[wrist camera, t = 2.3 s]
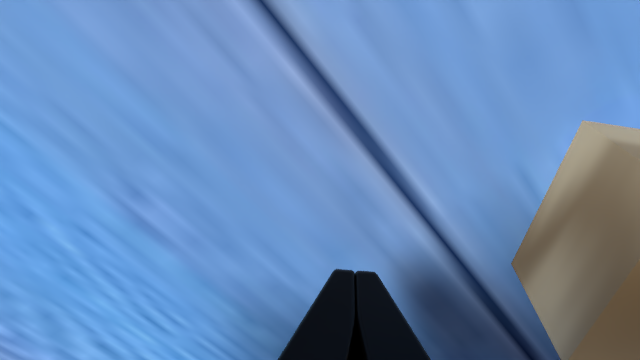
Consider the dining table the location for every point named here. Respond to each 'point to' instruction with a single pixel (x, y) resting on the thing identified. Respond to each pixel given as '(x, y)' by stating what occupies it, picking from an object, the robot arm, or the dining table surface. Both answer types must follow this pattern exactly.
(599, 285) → the maple bracket block
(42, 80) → the dining table surface
